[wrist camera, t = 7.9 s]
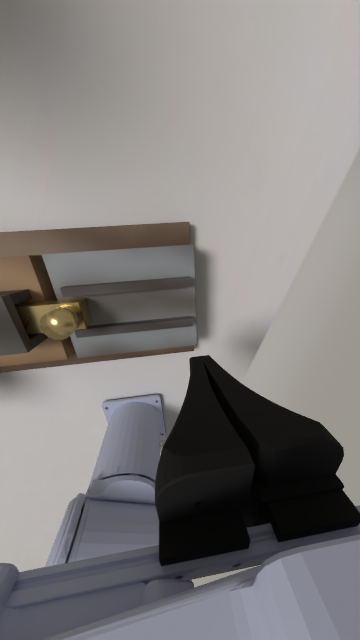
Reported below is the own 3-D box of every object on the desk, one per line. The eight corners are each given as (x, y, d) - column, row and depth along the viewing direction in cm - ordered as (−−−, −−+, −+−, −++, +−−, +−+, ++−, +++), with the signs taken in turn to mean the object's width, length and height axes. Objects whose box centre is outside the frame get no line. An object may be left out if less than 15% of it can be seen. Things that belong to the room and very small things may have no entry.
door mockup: (192, 346, 22) (202, 376, 17) (-25, 370, 20) (-91, 413, 15) (187, 223, 17) (200, 209, 11) (-108, 240, 15) (-259, 233, 9)
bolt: (93, 322, 16) (76, 339, 13) (3, 330, 16) (-39, 351, 12) (86, 297, 15) (66, 309, 12) (-10, 305, 15) (-59, 321, 11)
